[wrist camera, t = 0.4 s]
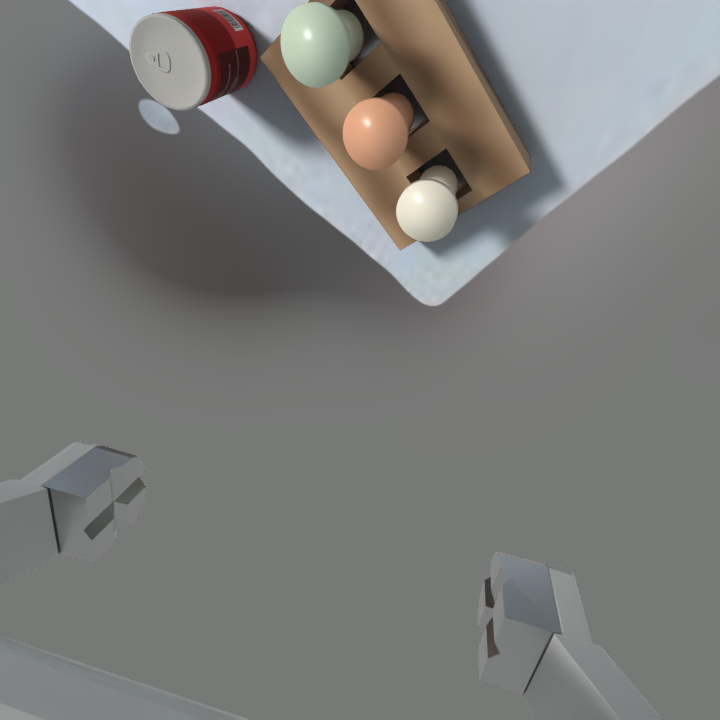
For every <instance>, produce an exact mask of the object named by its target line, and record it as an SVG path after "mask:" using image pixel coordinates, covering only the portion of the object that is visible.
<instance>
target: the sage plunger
mask: <svg viewBox="0 0 720 720" xmlns="http://www.w3.org/2000/svg"><path fill="white" fill-rule="evenodd" d="M362 45H363V30H362V26H361V24H360V22H359V20H358V19H357V17H356V16H355V15H354V14H353V13H351V12H349V11H347V10H342V9H341V10H334V9H333V8H332V7H330V6H329V5H327V4H324V3H320V2H310V3H304V4H301V5H299V6H297V7H296V8H294V9H293V10H292V11H291V12H290V13H289V15H288V16H287V18H286V20H285V22H284V24H283V27H282V31H281V51H282V55H283V59H284V62H285V64H286V66H287V68H288V69H289V71H290V73H291V74H292V75H293V76H294V77H295V78H296V79H297V80H298V81H299V82H301V83H302V84H304V85H306V86H309V87H313V88H321V87H325V86H328V85H330V84H332V83H333V82H335V81H337V80H338V79H339V78H340V77H341V76H342V75H343V73H344V72H345V70H346V68H347V66H348V63H349V62H350V61H352V60H354V59H355V58H356V57H357V56H358V54H359V53H360V51H361V48H362Z"/></svg>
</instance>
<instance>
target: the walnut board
mask: <svg viewBox="0 0 720 720" xmlns="http://www.w3.org/2000/svg"><path fill="white" fill-rule="evenodd" d="M348 1H349V0H309V1H308V3H310V2H320V3H324V4H327V5H329V6H330V7H332V8H333V9H334V10H340V9H341V8H342V7H343V6H344V5H345V4H346V3H347V2H348ZM355 1H356V3H357V4H358V6H359V8H360V9H361V11H362V12H363V14H364V16H365V17H366V19H367V21H368V22H369V24H370V25H371V27H372V29H373V30H374V32H375V33H376V35H377V37H378V38H379V40H380V42H381V43H380V44H379V45H378V46H377V47H376V48H375V49H374V50H373V51H371V52H370V53H369V54H368V55H367V56H366V57H365V58H364V59H363V60H362V61H361V62H360V63H359V64H358V65H357V66H356V67H355V68H354V69H353V67H352V66H351V64H350V62H349V63H348V66H347V68H346V70H345V72H344V73H343V75H342V76H341V77H340V78H339V79H338V80H337V81H335V82H333V83H332V84H330V85H328V86H325V87H321V88H313V87H309V86H306V85H304V84H302V83H301V82H299V81H298V80H297V79H296V78H295V77H294V76H293V75H292V74H291V73H290V71H289V69H288V68H287V66H286V64H285V62H284V59H283V55H282V51H281V34H280V35H279V36H278V37H277V38H276V40H275V41H274V42H273V43H272V44H271V45H270V47H269V48H268V49H267V50H266V51H265V52H264V53H263V55H262V56H261V57H260V59H261V60H262V62H263V63H264V64H265V66H266V67H267V69H268V70H269V71H270V73H271V74H272V75H273V77H274V78H275V80H276V81H277V82H278V84H279V85H280V86H281V88H282V89H283V91H284V92H285V93H286V95H287V96H288V97H289V99H290V100H291V101H292V103H293V104H294V106H295V107H296V108H297V110H298V111H299V112H300V114H301V115H302V117H303V118H304V119H305V121H306V122H307V123H308V125H309V126H310V128H311V129H312V130H313V132H314V133H315V134H316V136H317V137H318V139H319V140H320V141H321V143H322V144H323V145H324V147H325V148H326V150H327V151H328V152H329V154H330V155H331V156H332V158H333V159H334V161H335V162H336V163H337V165H338V166H339V167H340V169H341V170H342V171H343V173H344V174H345V176H346V177H347V178H348V180H349V181H350V182H351V184H352V185H353V187H354V188H355V189H356V191H357V192H358V193H359V195H360V196H361V198H362V199H363V200H364V202H365V203H366V204H367V206H368V207H369V209H370V210H371V211H372V213H373V214H374V215H375V217H376V218H377V220H378V221H379V222H380V224H381V225H382V226H383V228H384V229H385V230H386V232H387V233H388V235H389V236H390V237H391V239H392V240H393V241H394V243H395V244H396V246H397V247H398V248H399V250H402V249H404V248H405V247H407V246H409V245H410V244H412V243H414V242H415V241H417V240H415V239H413V238H411V237H410V236H408V235H407V234H406V233H405V232H404V231H403V230H402V229H401V227H400V225H399V223H398V220H397V216H396V207H397V203H398V200H399V198H400V196H401V194H402V193H403V191H404V190H405V189H406V188H407V187H408V186H409V185H410V184H411V183H413V182H415V181H417V180H419V179H420V177H421V176H422V172H421V171H420V169H419V167H421V166H422V165H424V164H425V163H426V162H428V161H429V160H431V159H432V158H433V157H435V156H436V155H438V154H439V153H440V152H442V151H443V150H445V149H446V148H447V150H448V152H449V153H450V155H451V156H452V158H453V160H454V161H455V163H456V164H457V166H458V168H459V169H460V171H461V173H462V174H463V176H464V177H465V179H466V182H465V183H463V184H461V185H460V186H458V188H457V192H456V195H455V196H456V199H457V202H458V215H460V214H462V213H463V212H465V211H467V210H468V209H470V208H472V207H473V206H475V205H477V204H478V203H480V202H481V201H483V200H485V199H486V198H488V197H490V196H491V195H493V194H495V193H496V192H498V191H500V190H501V189H503V188H505V187H506V186H508V185H510V184H511V183H513V182H515V181H516V180H518V179H520V178H521V177H523V176H524V175H526V174H528V173H529V172H530V155H529V153H528V151H527V150H526V148H525V146H524V144H523V142H522V140H521V139H520V137H519V135H518V133H517V131H516V129H515V128H514V126H513V124H512V122H511V120H510V118H509V117H508V115H507V113H506V111H505V109H504V107H503V106H502V104H501V102H500V100H499V98H498V96H497V95H496V93H495V91H494V89H493V87H492V86H491V84H490V82H489V80H488V78H487V76H486V75H485V73H484V71H483V69H482V67H481V65H480V64H479V62H478V60H477V58H476V56H475V54H474V53H473V51H472V49H471V47H470V45H469V43H468V42H467V40H466V38H465V36H464V34H463V32H462V31H461V29H460V27H459V25H458V23H457V21H456V20H455V18H454V16H453V14H452V12H451V10H450V9H449V7H448V5H447V3H446V1H445V0H355ZM400 74H401V76H402V77H403V79H404V80H405V82H406V84H407V85H408V87H409V88H410V90H411V92H412V93H413V95H414V97H415V98H416V100H417V101H418V103H419V105H420V106H421V108H422V109H423V111H424V113H425V114H426V116H427V118H426V119H425V120H424V121H422V122H421V123H420V124H419V125H417V126H416V127H415V128H413V129H412V130H411V131H410V132H408V133H409V135H408V142H407V146H406V148H405V150H404V152H403V154H402V155H401V157H400V158H399V159H398V160H397V162H396V163H394V164H393V165H392V166H390V167H388V168H386V169H383V170H369V169H366V168H364V167H362V166H360V165H358V164H357V163H356V162H355V161H354V160H353V159H352V158H351V157H350V155H349V154H348V152H347V150H346V148H345V145H344V141H343V125H344V121H345V119H346V117H347V115H348V113H349V112H350V110H351V109H352V108H353V107H354V106H356V105H357V104H358V103H359V102H361V101H363V100H365V99H367V98H371V97H375V96H376V95H377V94H378V93H379V92H380V91H381V90H383V89H384V88H385V87H386V86H387V85H388V84H389V83H391V82H392V81H393V80H394V79H395V78H396V77H397V76H399V75H400ZM458 215H457V216H458Z"/></svg>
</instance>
